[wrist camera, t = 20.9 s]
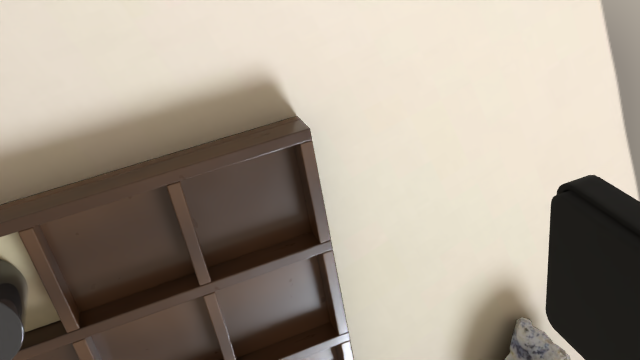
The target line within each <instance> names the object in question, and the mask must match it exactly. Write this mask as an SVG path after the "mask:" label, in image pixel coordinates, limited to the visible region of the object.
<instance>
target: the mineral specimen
mask: <svg viewBox="0 0 640 360" xmlns="http://www.w3.org/2000/svg"><path fill="white" fill-rule="evenodd" d="M510 350H511V351H510V354H509V355H508V356H507V357H506V358H505V359H504V360H570V356H569V355H568V354H566V353H565V351H564V350H563V349H561V348H560V347H559V346H557V345H556V344H554V343H553V342H552V340H551V339H550V338H549V337H547V335H546V333H545V332H542V331H541V330H539V329H538V328H535V327H533V326H532V321H530V320H529V319H526V318H522V317H521V318H520V319H518V320H516V326H515V329H514V331H513V335H512V340H511V345H510Z"/></svg>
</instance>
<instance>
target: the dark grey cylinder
mask: <svg viewBox="0 0 640 360" xmlns="http://www.w3.org/2000/svg"><path fill="white" fill-rule="evenodd" d="M28 294H29V291H28V285H27V282H26V279H25V278H24V276H23V275H22V273H21V272H20V271H19V270H18V269H17V268H16V267H14V266H13V265H12V264H10V263H8V262H6V261H4V260H1V259H0V360H12V359H13V358H14V357H15V356H16V354H17V353H18V352H19V350H20V348H21V346H22V344H23V340H24V333H25V323H26V314H27V304H28Z"/></svg>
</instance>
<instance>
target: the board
mask: <svg viewBox="0 0 640 360" xmlns="http://www.w3.org/2000/svg"><path fill="white" fill-rule="evenodd" d="M0 259H1V260H4V261H6V262H8V263H10V264H12V265H13V266H14V267H16V268H17V269H18V270H19V271H20V272H21V273H22V275H23V276H24V278H25V279H26V282H27V285H28V291H29V294H28V304H27V314H26V323H25V333H24V340H23V344H22V346H21V348H20V350H19V352H18V353H17V354H16V356H15V357H14V358H13V359H12V360H354V357H353V352H352V347H351V342H350V336H349V332H348V326H347V321H346V316H345V310H344V305H343V300H342V295H341V289H340V284H339V279H338V274H337V269H336V263H335V258H334V253H333V249H332V242H331V237H330V231H329V226H328V221H327V216H326V210H325V205H324V200H323V195H322V190H321V184H320V179H319V174H318V169H317V163H316V158H315V153H314V148H313V142H312V137H311V132H310V128H309V127H308V126H307V125H306V124H305V123H304V122H303V121H302V120H301V119H300V118H299V117H298V116H295V117H292V118H289V119H285V120H282V121H279V122H276V123H272V124H269V125H266V126H262V127H259V128H256V129H252V130H249V131H246V132H242V133H239V134H236V135H232V136H229V137H226V138H222V139H219V140H216V141H212V142H209V143H206V144H202V145H199V146H196V147H192V148H189V149H186V150H182V151H179V152H176V153H172V154H169V155H166V156H162V157H159V158H156V159H152V160H149V161H146V162H142V163H139V164H136V165H132V166H129V167H126V168H122V169H119V170H116V171H112V172H109V173H106V174H102V175H99V176H96V177H92V178H89V179H86V180H82V181H79V182H76V183H72V184H69V185H66V186H63V187H59V188H56V189H53V190H49V191H46V192H43V193H39V194H36V195H33V196H29V197H26V198H23V199H19V200H16V201H13V202H9V203H6V204H3V205H0Z"/></svg>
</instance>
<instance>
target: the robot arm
mask: <svg viewBox="0 0 640 360" xmlns="http://www.w3.org/2000/svg"><path fill="white" fill-rule="evenodd" d="M546 314H547V317H548V320H549V322H550V324H551V325H552V327H553V328H554V329H555V330H556V331H557V332H558V333H559V334H560V335H561V336H562V337H563V338H564V339H565V340H566V341H567V342H568V343H569V344H570V345H571V346H572V347H573V348H574V349H575V350H576V351H577V352H578V353H579V354H580V355H581V356H582V357H583V358H584V359H585V360H640V202H639V201H637V200H636V199H634V198H632V197H631V196H629V195H628V194H626V193H624V192H623V191H621V190H619V189H618V188H616V187H614V186H613V185H611V184H609V183H608V182H606V181H605V180H603V179H601V178H600V177H597V176H595V175H588V176H585V177H583V178H580V179H577V180H574V181H571V182H568V183H565V184H563V185H561V186H560V187H559V189H558V190H557V195H556V196H554V197H553V199H552V202H551V216H550V235H549V255H548V275H547V295H546Z"/></svg>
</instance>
